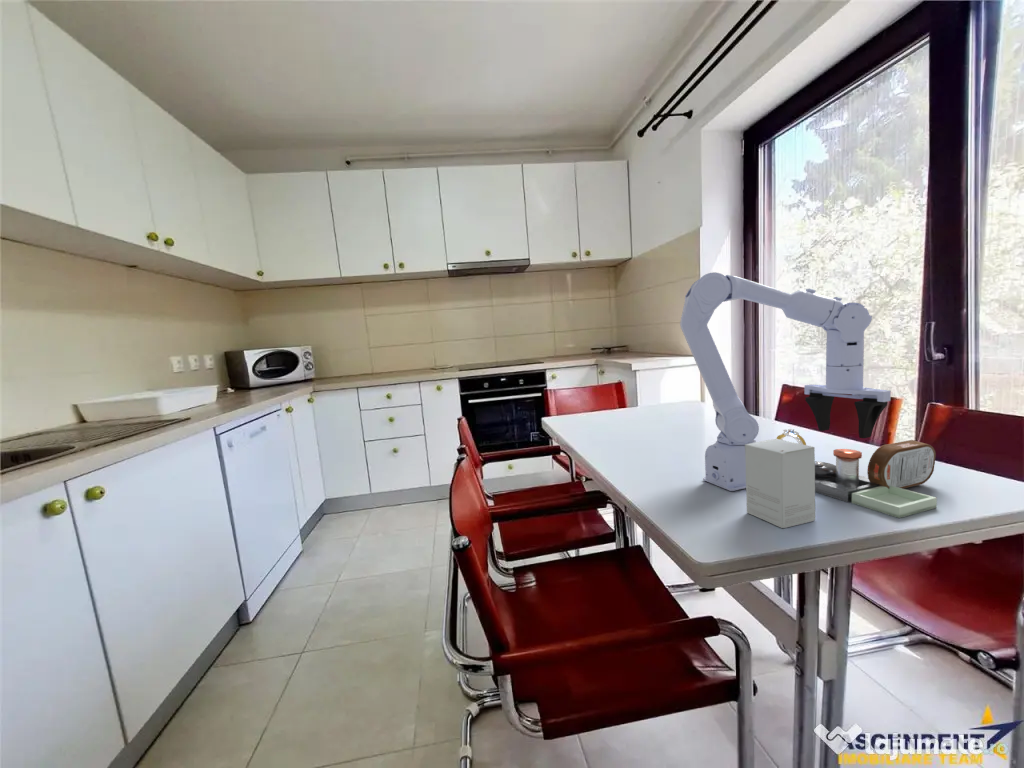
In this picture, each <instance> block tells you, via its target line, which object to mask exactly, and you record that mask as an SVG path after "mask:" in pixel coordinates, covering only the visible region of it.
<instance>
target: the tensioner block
mask: <svg viewBox="0 0 1024 768" xmlns="http://www.w3.org/2000/svg"><path fill="white" fill-rule="evenodd" d="M879 486H880V485H879V484H876V483H872V482H870V481H869V479H868V476H863V475H860V474H859V487H855V488H850V487H847V486H843V485H840V484H836V464H833V463H829V462H826V461H825V462H824V461H816V460H815V493H817V494H821V495H825V496H826V497H830V498H833V499H837V500H840V501H842V502H845V503H852V493H855V492H859V491H863V490H867V489H871V488H875V487H879Z"/></svg>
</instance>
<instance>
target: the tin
mask: <svg viewBox="0 0 1024 768" xmlns="http://www.w3.org/2000/svg"><path fill="white" fill-rule="evenodd" d="M936 452H937V451H936V450H935V448H934V447H933V446H932V445H931V444H928V443H924V442H921V441H917V440H913V439H911V440H905V441H904V440H903V441H899V442H892V443H888V444H883V445H880V446H879V447H878V448H876V450H874V452H873V453H872V455H871V456H870V459H869V462H868V465H867V473H866V474H867V478H868V479H869V481H870V482H872V483H876V484H879V485H880V486H884V487H887V488H888V489H889V486H895V487H899V488H902V489H908V488H912V487H917V486H920V485H924V484H925V483H926V482H928V480H929V479H930V478H932V477H931V476H932V475H933V474H934V471H935V465H936V464H935V463H936V457H937V453H936Z"/></svg>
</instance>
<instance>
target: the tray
mask: <svg viewBox="0 0 1024 768" xmlns="http://www.w3.org/2000/svg"><path fill="white" fill-rule="evenodd" d="M937 501H938V498H937V497H935V496H932V495H929V494H925V493H921V492H916V491H913V490H909V489H907V488H904V489H902V488H899V487H895V486H889V489H888V488H887V487H884V486H879V487H875V488H871V489H867V490H863V491H859V492H855V493H852V502H851V504H854V505H857V506H860V507H863V508H867V509H870V510H873V511H876V512H878V513H882V514H886V515H888V516H890V517H894V518H898V519H901V518H905V517H908V516H913V515H916V514H919V513H923V512H927V511H931V510H934V509H937V506H938V504H937V503H938V502H937Z"/></svg>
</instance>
